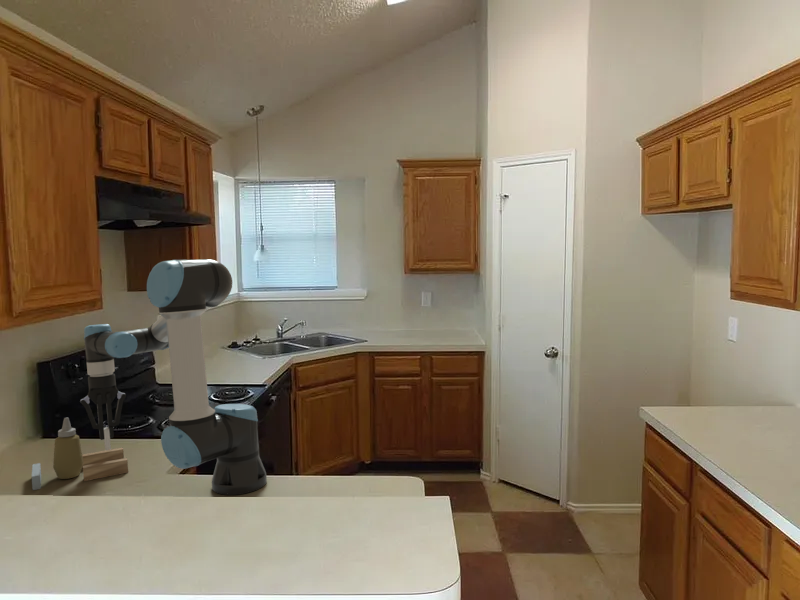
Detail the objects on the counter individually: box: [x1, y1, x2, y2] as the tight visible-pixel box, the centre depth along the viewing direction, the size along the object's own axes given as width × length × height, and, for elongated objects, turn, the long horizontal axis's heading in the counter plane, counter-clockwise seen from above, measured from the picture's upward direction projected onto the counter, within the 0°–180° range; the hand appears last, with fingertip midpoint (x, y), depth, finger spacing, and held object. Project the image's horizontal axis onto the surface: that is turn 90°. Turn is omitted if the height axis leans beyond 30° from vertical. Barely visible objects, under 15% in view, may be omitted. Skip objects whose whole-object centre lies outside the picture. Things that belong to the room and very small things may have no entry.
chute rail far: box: [81, 447, 125, 470], centre depth 187 cm, size 2×12×4 cm, turn 121°
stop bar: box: [31, 462, 42, 491], centre depth 173 cm, size 12×2×4 cm, turn 31°
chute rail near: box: [82, 457, 129, 482], centre depth 177 cm, size 2×12×4 cm, turn 121°
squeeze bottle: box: [52, 417, 83, 480], centre depth 177 cm, size 8×8×18 cm
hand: (107, 448), depth 182 cm, fingers closed
